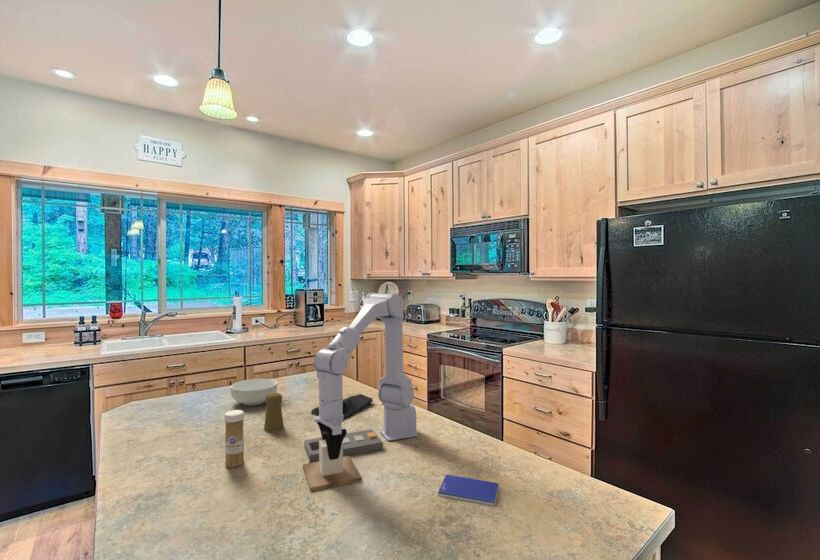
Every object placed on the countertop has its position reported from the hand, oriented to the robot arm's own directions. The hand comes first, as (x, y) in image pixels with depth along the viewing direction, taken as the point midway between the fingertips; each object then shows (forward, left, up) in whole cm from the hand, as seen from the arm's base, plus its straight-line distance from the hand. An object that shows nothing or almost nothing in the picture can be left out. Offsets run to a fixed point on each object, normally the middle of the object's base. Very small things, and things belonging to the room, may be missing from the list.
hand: (331, 453), depth 98 cm
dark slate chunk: (-14, -45, -6) cm, 47 cm away
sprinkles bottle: (+22, -15, -5) cm, 27 cm away
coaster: (0, 0, -5) cm, 5 cm away
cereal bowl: (+16, -66, -5) cm, 68 cm away
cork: (+11, -36, -5) cm, 38 cm away
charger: (0, 0, -4) cm, 4 cm away
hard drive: (-27, +20, -6) cm, 34 cm away
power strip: (-6, -13, -5) cm, 15 cm away
